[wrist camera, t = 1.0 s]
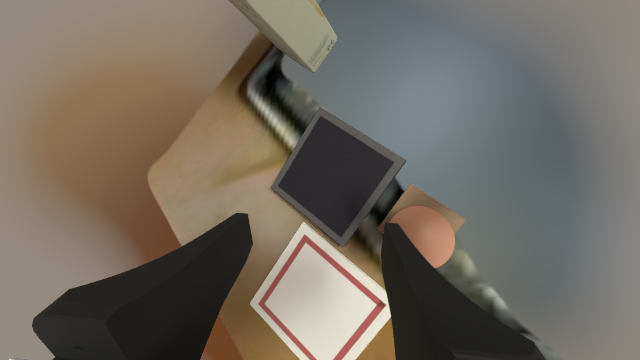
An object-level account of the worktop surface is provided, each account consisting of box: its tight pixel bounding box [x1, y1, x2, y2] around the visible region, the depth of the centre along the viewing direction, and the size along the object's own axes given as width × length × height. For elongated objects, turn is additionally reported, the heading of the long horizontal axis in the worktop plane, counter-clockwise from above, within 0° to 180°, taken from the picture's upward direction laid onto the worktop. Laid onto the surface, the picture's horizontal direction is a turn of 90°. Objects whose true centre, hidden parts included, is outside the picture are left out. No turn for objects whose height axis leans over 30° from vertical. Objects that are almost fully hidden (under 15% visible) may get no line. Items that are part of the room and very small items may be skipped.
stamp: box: [377, 184, 466, 268], centre depth 18 cm, size 5×5×7 cm
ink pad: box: [271, 107, 406, 247], centre depth 24 cm, size 10×10×1 cm
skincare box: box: [229, 0, 337, 73], centre depth 21 cm, size 6×4×12 cm
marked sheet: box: [250, 222, 391, 360], centre depth 25 cm, size 12×12×1 cm
